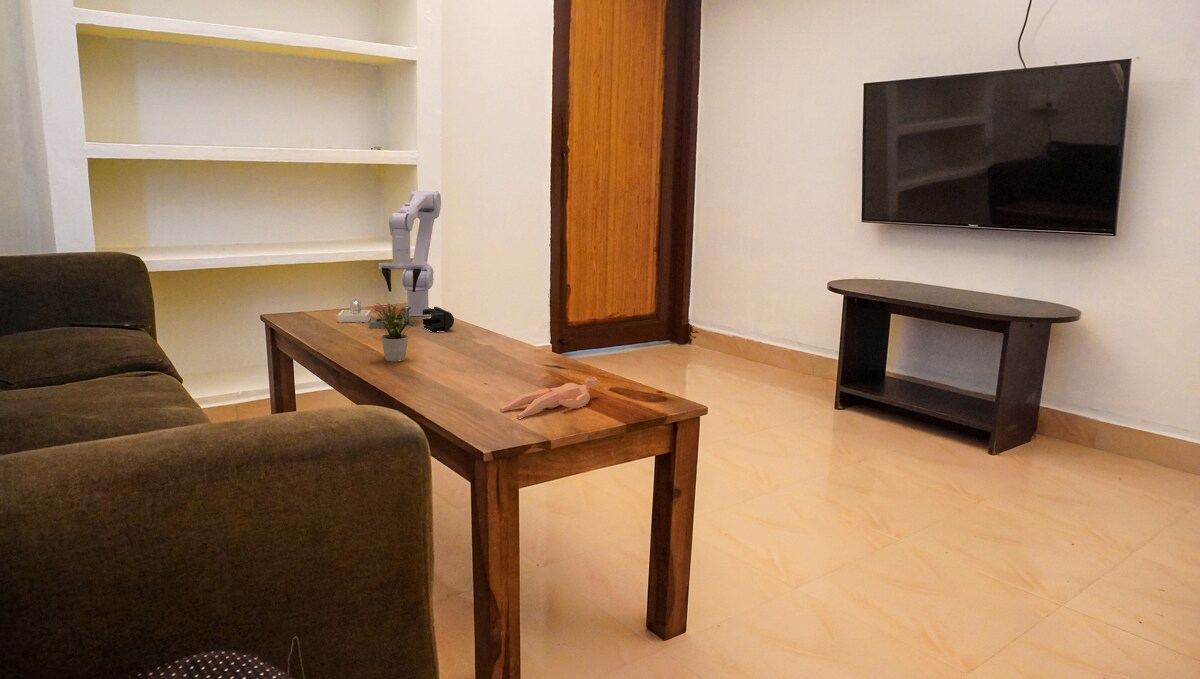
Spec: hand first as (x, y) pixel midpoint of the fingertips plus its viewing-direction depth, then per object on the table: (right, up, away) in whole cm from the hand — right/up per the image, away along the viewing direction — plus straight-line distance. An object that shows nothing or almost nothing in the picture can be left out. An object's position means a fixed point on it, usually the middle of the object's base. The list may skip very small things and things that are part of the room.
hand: (402, 291), depth 259 cm
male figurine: (+55, -31, -84) cm, 105 cm away
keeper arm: (-5, -7, +3) cm, 9 cm away
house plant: (+9, -21, -47) cm, 52 cm away
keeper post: (+2, -11, 0) cm, 11 cm away
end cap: (+13, -13, -7) cm, 20 cm away
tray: (-17, -9, +4) cm, 19 cm away
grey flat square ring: (-5, -11, -4) cm, 13 cm away
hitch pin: (-16, -9, +2) cm, 18 cm away
